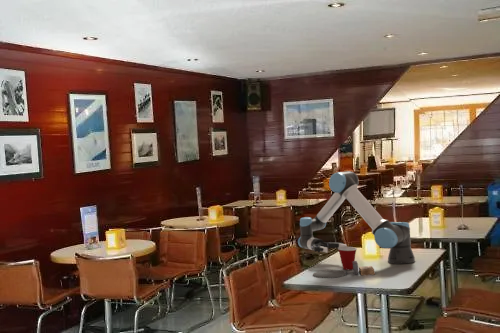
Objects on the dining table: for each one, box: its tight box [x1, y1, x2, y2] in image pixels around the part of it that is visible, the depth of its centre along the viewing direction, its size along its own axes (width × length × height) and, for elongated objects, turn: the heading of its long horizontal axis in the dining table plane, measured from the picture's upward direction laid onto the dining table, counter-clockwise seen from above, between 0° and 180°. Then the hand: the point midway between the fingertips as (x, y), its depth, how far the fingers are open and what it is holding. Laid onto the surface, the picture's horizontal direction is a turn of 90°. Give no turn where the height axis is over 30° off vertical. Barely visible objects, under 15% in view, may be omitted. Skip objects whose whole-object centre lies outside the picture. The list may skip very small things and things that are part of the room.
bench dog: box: [352, 260, 359, 276], centre depth 302 cm, size 2×8×6 cm, turn 173°
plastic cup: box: [337, 246, 358, 271], centre depth 315 cm, size 11×11×12 cm
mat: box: [312, 269, 347, 279], centre depth 304 cm, size 18×18×1 cm
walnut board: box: [358, 265, 376, 276], centre depth 302 cm, size 7×10×3 cm
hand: (336, 248), depth 324 cm, fingers open, 13 cm apart
